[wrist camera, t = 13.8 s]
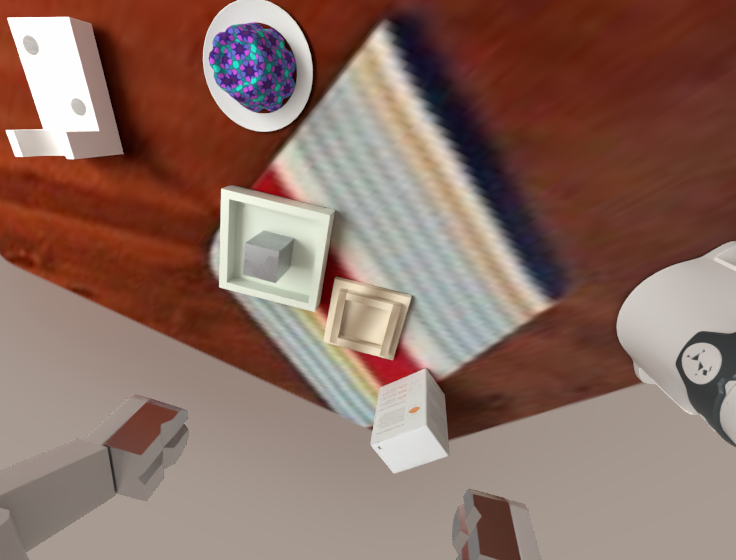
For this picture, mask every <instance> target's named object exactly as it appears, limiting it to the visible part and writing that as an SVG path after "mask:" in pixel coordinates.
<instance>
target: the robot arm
mask: <svg viewBox="0 0 736 560" xmlns="http://www.w3.org/2000/svg"><path fill="white" fill-rule="evenodd" d="M617 335H618V338H619V341H620V343H621V345H622V347H623V348H624V350H625V351H626V352H627V353H628V354H629V355H630V357H631V358H632V360H633V363H634V370H635V374H636V376H637V377H638V378H639V379H640V380H641V381H642V382H644V383H646V384H655V385H657V386H658V387H659V388H661V389H662V390H663V391H664V392H665V393H666V394H667V395H668V396H669V397H670V398H671V399H672V400H673V401H674V402H675V403H676V404H678V405H679V406H680V407H681V408H682V409H683V410H684V411H685V412H687V413H689V414H691V415H695V414H696V415H699V416H701V417H702V418H703V420H704V422H705V423H706V424H707V425H708V426H709V427H710V428H712V429H713V430H714V431H715V432H717V433H718V434H719V435H720V436H721V437H722V438H723V439H724V440H726V441H727V442H728V443H730V444H731V445H733V446H735V447H736V241H732V242H728V243H726V244H723V245H721V246H720V247H718V248H716V249H714V250H713V251H711V252H709V253H708V254H706V255H704V256H702V257H700V258H697V259H693V260H690V261H686V262H682V263H678V264H675V265H672V266H670V267H667V268H665V269H663V270H661V271H659V272H657V273H655V274H653V275H652V276H650V277H649V278H647V279H646V280H644V281H643V282H642V283H641V284H639V285H638V286H637V287H636V288H635V289H634V290H633V291H632V292H631V294H630V295H629V296H628V297H627V299H626V300H625V302H624V304H623V305H622V307H621V310H620V312H619V315H618V319H617ZM187 419H188V411H187V410H186V409H183V408H179V407H176V406H173V405H170V404H166V403H163V402H160V401H156V400H154V399H150V398H146V397H143V396H140V395H134V396H132V397H129V398H128V399H127V400H126V401H125V402H124V403H123V404H121V406H119V407H118V408H117V409H116V410H115V411H114V412H113V413H112V414H111V415H109V416H108V417H107V418H106V419H105V420H104V421H103V422H102V423H101V424H100V425H99V426H98V427H96V428H95V429H94V430H93V431H92V432H91V433H90V434H89V435H88V436H87V437H86V438H84V439H83V440H82V439H75V440H73V441H70V442H68V443H66V444H63V445H61V446H59V447H56V448H53V449H51V450H48V451H46V452H44V453H41V454H39V455H36V456H34V457H32V458H29V459H26V460H24V461H22V462H19V463H17V464H15V465H12V466H9V467H7V468H5V469H2V470H0V560H29V558H28V556H27V554H26V552H28V551H29V550H31V549H32V548H34V547H35V546H37V545H39V544H40V543H42V542H43V541H45V540H46V539H48V538H50V537H51V536H53V535H54V534H56V533H57V532H59V531H61V530H62V529H64V528H65V527H67V526H69V525H70V524H72V523H73V522H75V521H76V520H78V519H80V518H81V517H83V516H84V515H86V514H87V513H89V512H90V511H92V510H94V509H95V508H97V507H98V506H100V505H101V504H103V503H105V502H106V501H108V500H109V499H111V498H112V497H114V496H115V495H116V494H115V493H117V494H120V495H124V496H128V497H132V498H135V499H139V500H143V501H147V500H148V499H149V498H150V496H151V495H152V494H153V492H154V491H155V490H156V488H157V487H158V486H159V484H160V483H161V482H162V480H163V479H164V469H166V468H167V467H169V466H171V465H173V464H175V463H176V461H177V460H178V458H179V457H180V456H181V454H182V452H183V450H184V448H185V446H186V444H187V440H188V428H187V427H186V426H185V424H184V423H185V422H186V420H187ZM463 497H464V504H463V505H460V506H458V508H457V510H456V513H455V515H454V520H453V529H452V538H453V539H452V540H453V546H454V548H455V549H456V551H457V553H458V557H457V559H456V560H541V556H540V552H539V548H538V545H537V541H536V537H535V533H534V530H533V526H532V522H531V518H530V515H529V511H528V508H527V507H526V505H525V504H522V503H519V502H515V501H511V500H508V499H505V498H503V497H499V496H495V495H491V494H488V493H484V492H480V491H476V490H472V489H468V490H467V491H466V493H465V494H464V496H463Z"/></svg>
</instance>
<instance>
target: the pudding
mask: <svg viewBox="0 0 736 560" xmlns="http://www.w3.org/2000/svg"><path fill="white" fill-rule="evenodd" d="M251 22H260V23H264V24H267V25H269V26H271V27H273V28H274V29H276V30H277V31H278V32H277V31H275V30H274V29H264V28H263V27H262V26H261V25H260V24H256V23H251ZM279 32H280V33H281V34H282V36H283V37H284V38H285V39H286V40H287V42H288V43H289V45H290V47H291V49H292V51H293V54H294V56H293V54H292V52H290V51H289V50H287V49H286V48H285V43H284V38H283V37H282V36H281V34H280V33H279ZM294 57H295V58H294ZM295 60H296V64H295ZM203 66H204V73H205V77H206V81H207V84H208V87H209V89H210V92H211V94H212V96H213V98H214V99H215V101H216V103H217V104H218V106H219V107H220V108H221V109H222V111H223V112H224V113H225V114H226V115H227V116H228V117H229V118H230V119H231V120H233V121H234V122H236V123H237V124H239V125H241V126H243V127H245V128H247V129H250V130H254V131H260V132H269V131H275V130H278V129H281V128H283V127H285V126H287V125H288V124H290V123H291V122H292V121H293V120H295V119H296V118H297V117H298V115H299V114H300V113H301V111H302V110H303V109H304V107H305V105H306V103H307V101H308V98H309V95H310V92H311V87H312V80H313V65H312V59H311V53H310V50H309V47H308V43H307V41H306V39H305V37H304V35H303V33H302V31H301V29H300V28H299V26H298V25H297V23H296V22H295V21H294V20H293V19H292V18H291V16H290V15H289V14H288V13H287V12H285V11H284V10H283V9H281V8H280V7H279V6H277V5H275V4H273V3H271V2H269V1H265V0H237V1H235V2H233V3H231V4H229V5H228V6H226V7H225V8H224V9H222V10H221V11H220V12H219V13H218V15H217V16H216V17H215V18H214V20H213V21H212V23H211V25H210V27H209V29H208V32H207V35H206V38H205V42H204V48H203ZM296 66H297V79H296V85H295V82H294V79H293V77H292V74H293V73H294V71H295V69H296ZM294 86H295V89H294ZM293 91H294V92H293ZM292 93H293V94H292ZM291 94H292V96H291ZM290 96H291V98H290V99H289V100H288V102H287V103H286V104H285V105H284V106H283V107H282V108H280V107H281V106H282V102H283V99H284V98H287V97H290ZM237 101H238V102H239V103H241V104H242V105H244V106H245V107H246V108H248V109H250V110H251V111H250V110H248V109H246V108H244V107H243V106H242V105H240V104H239V103H238V102H237ZM264 108H265V109H267V110H268V111H270V112H271V111H274V112H272V113H266V114H263V113H256V112H259V111H261V110H262V109H264ZM279 108H280V109H279ZM278 109H279V110H278ZM276 110H277V111H276ZM252 111H254V112H252Z"/></svg>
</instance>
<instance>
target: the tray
mask: <svg viewBox="0 0 736 560" xmlns="http://www.w3.org/2000/svg"><path fill="white" fill-rule="evenodd" d="M334 216H335V210H333V209H329V208H324V207H320V206H316V205H312V204H308V203H304V202H300V201H296V200H292V199H287V198H283V197H279V196H275V195H271V194H267V193H263V192H259V191H254V190H250V189H246V188H242V187H238V186H234V185H231V186H228V187H225V188H222V189H221V226H220V275H219V287H220V288H224V289H228V290H231V291H235V292H239V293H243V294H247V295H251V296H255V297H259V298H262V299H266V300H270V301H274V302H278V303H282V304H286V305H289V306H293V307H297V308H301V309H305V310H309V311H313V312H315V311H316V309H317V307H318V306H319V304H320V301H321V295H322V289H323V282H324V276H325V270H326V264H327V258H328V252H329V246H330V240H331V234H332V228H333V222H334ZM263 230H264V231H268V232H272V233H275V234H279V235H283V236H287V237H291V238H294V244H293V252H292V260H291V267H290V268H289V270H288V271H287V272H286V273H285V274H284V275H283V276H282V277H281V278H280V279H279V280H278V281H277V282H276V283H273V282H269V281H265V280H261V279H258V278H254V277H250V276H246V275H243V265H244V249H245V243H246V242H247V241H248V240H250V239H251V238H253V237H254V236H256V235H257V234H259V233H260V232H262V231H263Z"/></svg>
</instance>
